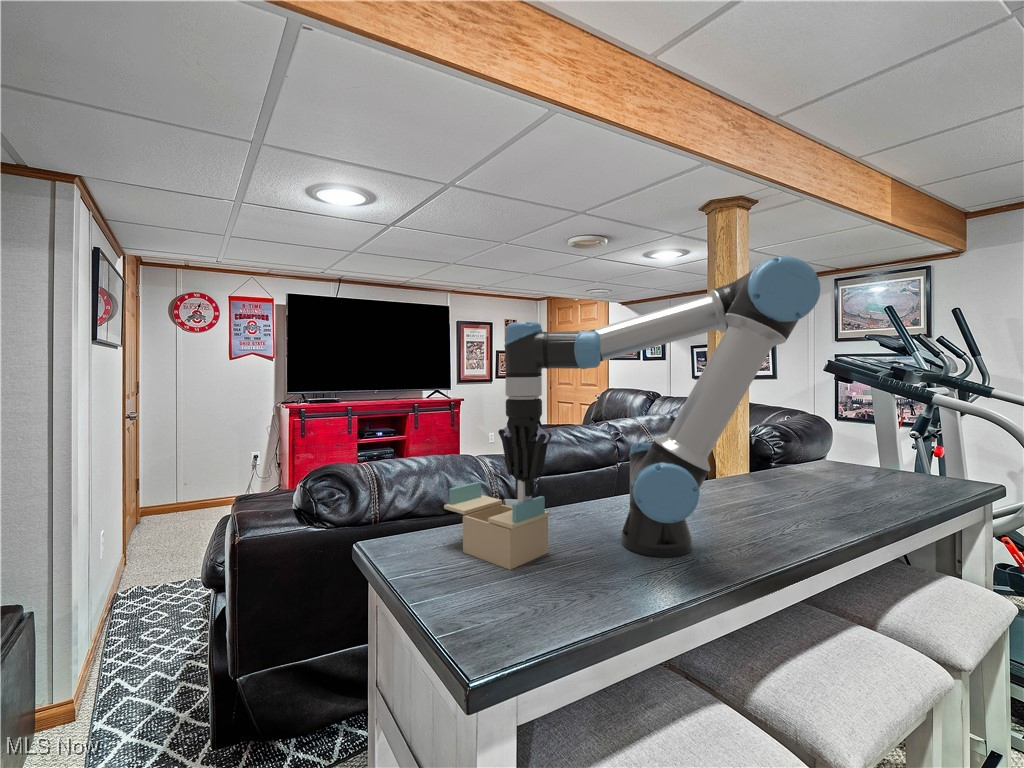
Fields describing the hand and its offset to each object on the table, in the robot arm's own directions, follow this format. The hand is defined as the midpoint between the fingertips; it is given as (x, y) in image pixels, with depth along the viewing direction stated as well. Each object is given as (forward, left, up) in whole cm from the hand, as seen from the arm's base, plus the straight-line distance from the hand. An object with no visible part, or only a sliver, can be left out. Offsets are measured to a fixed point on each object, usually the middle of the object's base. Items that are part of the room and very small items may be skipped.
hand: (524, 510), depth 105 cm
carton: (+6, 0, -10) cm, 12 cm away
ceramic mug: (+15, -14, -11) cm, 23 cm away
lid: (+16, 0, -2) cm, 16 cm away
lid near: (+1, 0, -2) cm, 2 cm away
